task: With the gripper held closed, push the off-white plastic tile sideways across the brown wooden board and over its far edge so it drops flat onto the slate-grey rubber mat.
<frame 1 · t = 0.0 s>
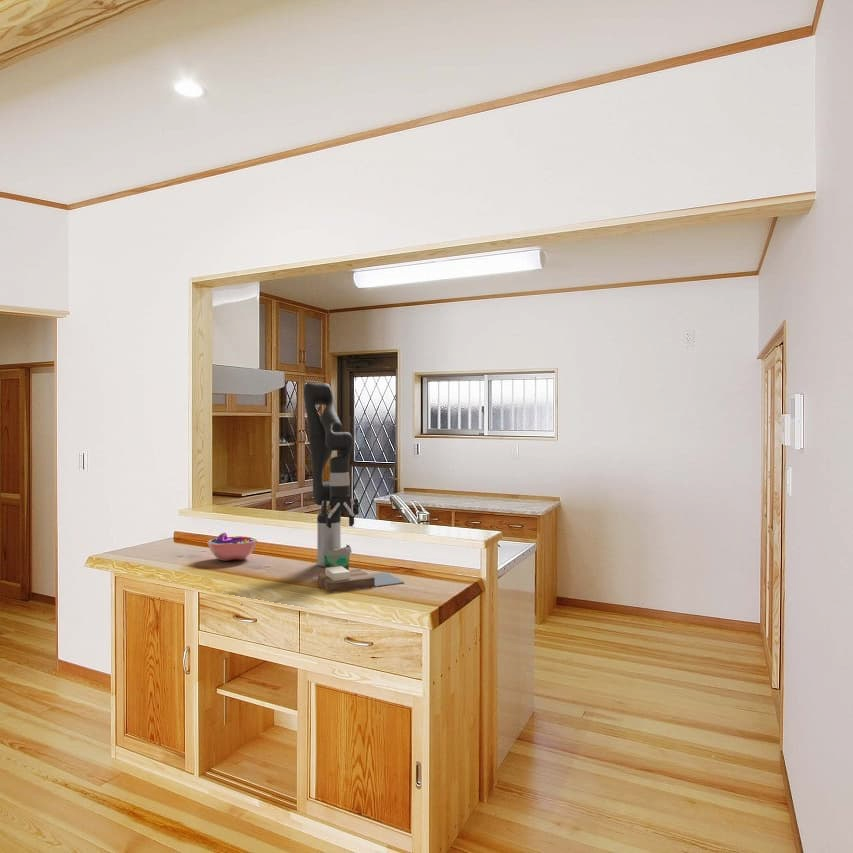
hand: (340, 527, 239), 17 cm above the table, tool pointing down, fingers open, 8 cm apart
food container: (340, 575, 235), on the table
cell model: (232, 560, 259), on the table
brown wooden board: (345, 584, 221), on the table
tile: (337, 573, 220), point 4 cm above the table, touching brown wooden board
mat: (381, 579, 227), on the table
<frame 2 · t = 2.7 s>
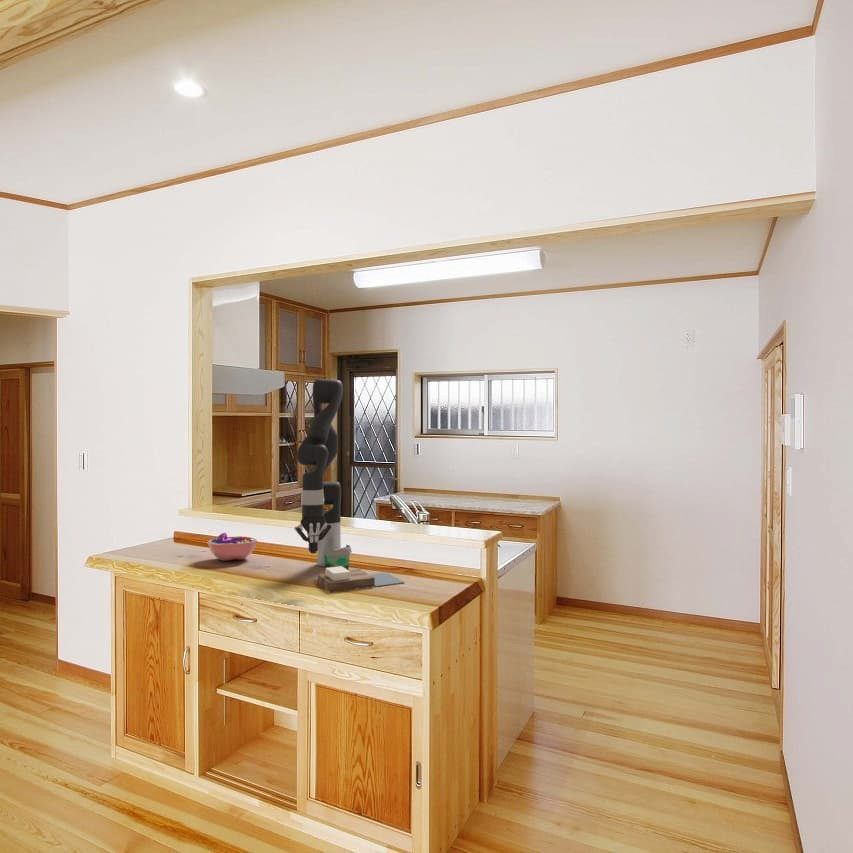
hand: (313, 553, 215), 12 cm above the table, tool pointing down, fingers closed
nothing on the table moved.
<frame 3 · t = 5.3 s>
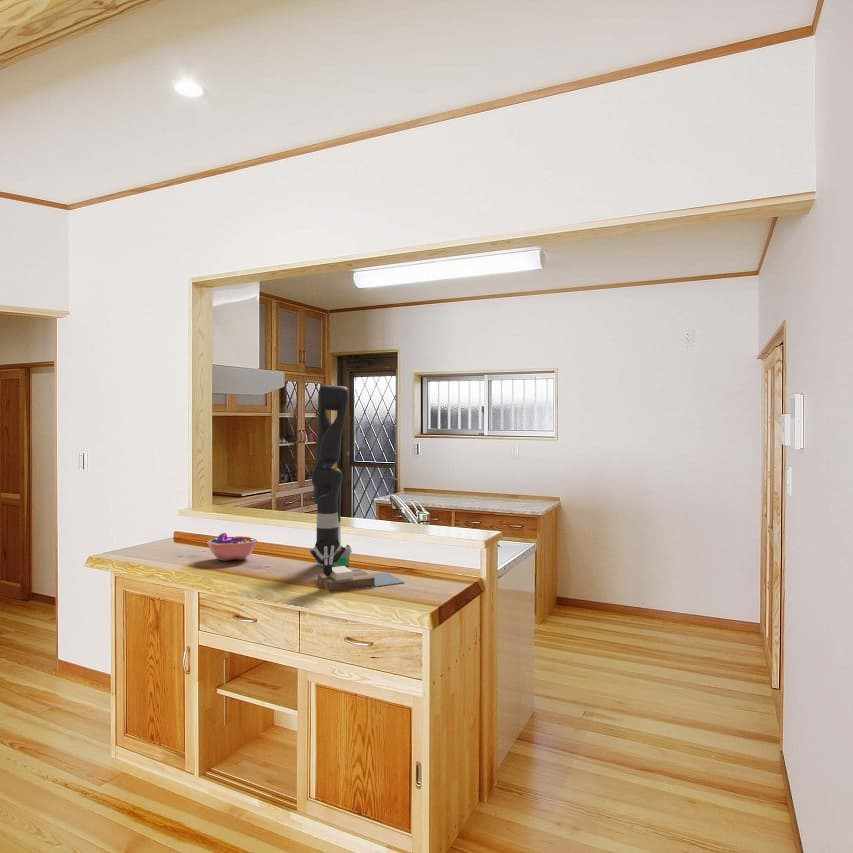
hand: (327, 575, 218), 4 cm above the table, tool pointing down, fingers closed
nothing on the table moved.
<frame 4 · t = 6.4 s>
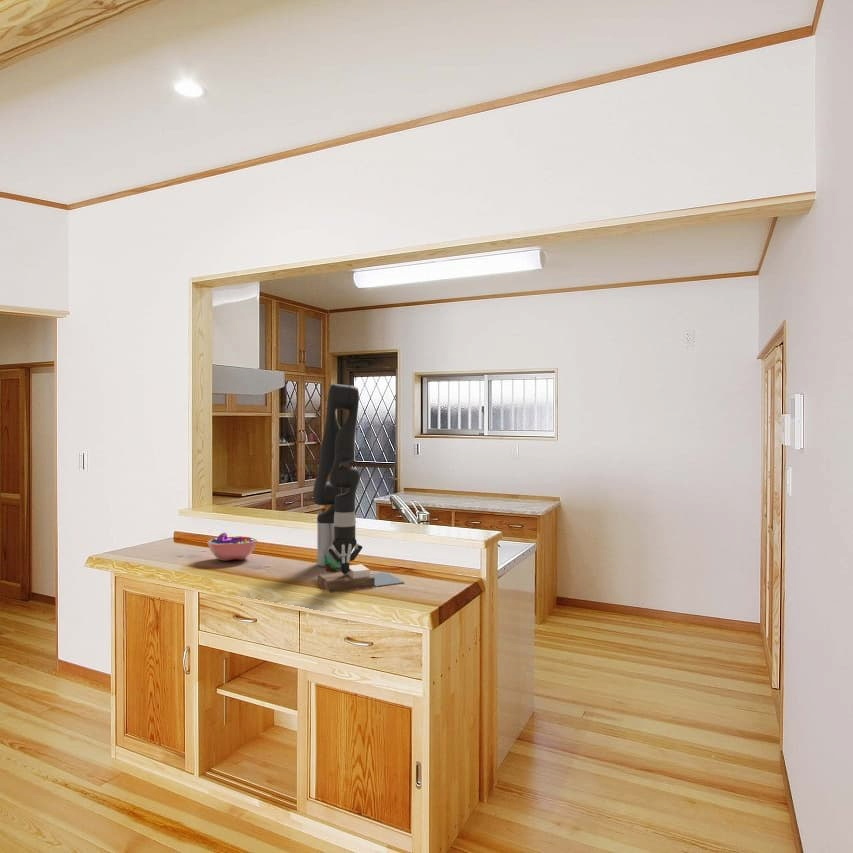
hand: (344, 573, 221), 4 cm above the table, tool pointing down, fingers closed
tile: (357, 571, 223), point 4 cm above the table, touching gripper
everything else where it was.
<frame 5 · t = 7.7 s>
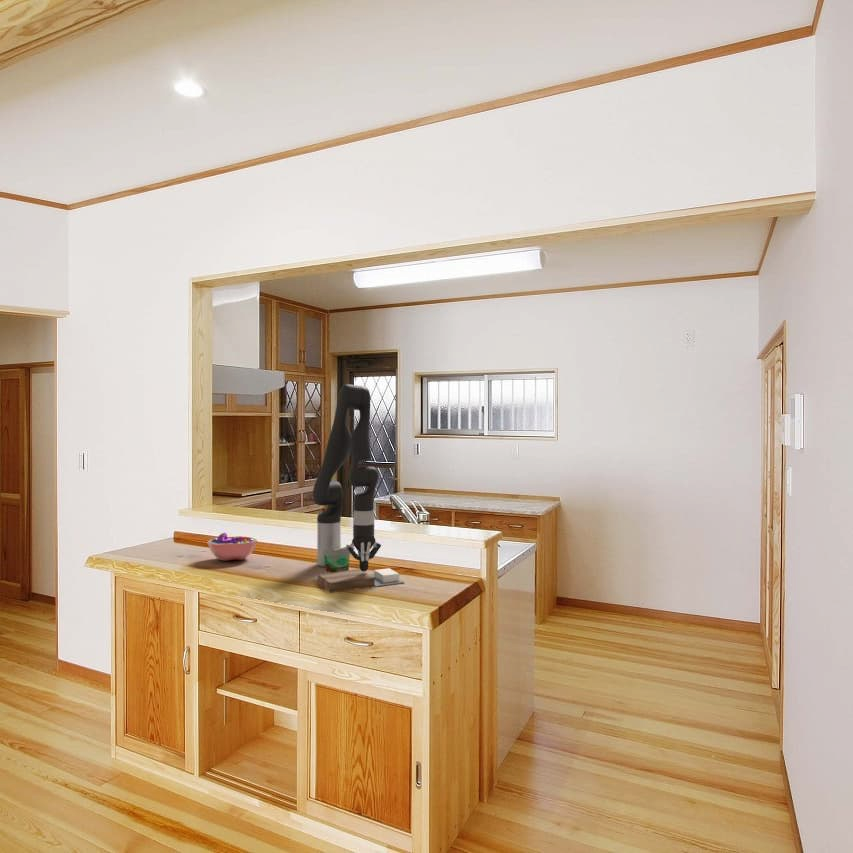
hand: (363, 570, 224), 4 cm above the table, tool pointing down, fingers closed
tile: (386, 575, 227), point 2 cm above the table, tilted 180°, touching mat
everything else where it was.
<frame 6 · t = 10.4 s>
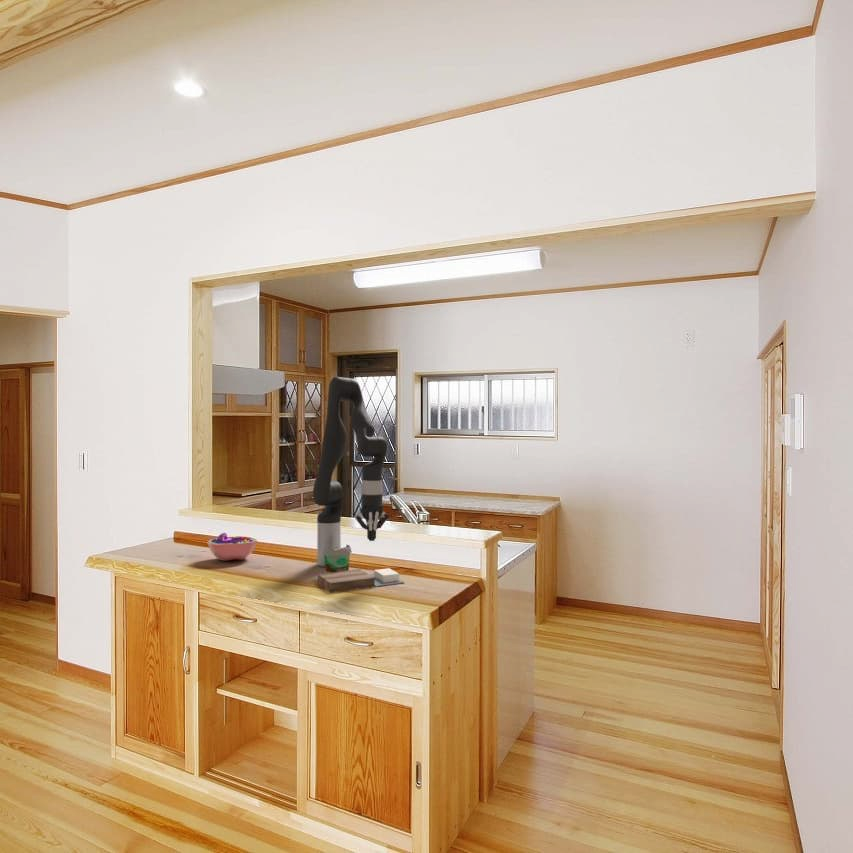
hand: (371, 540, 226), 15 cm above the table, tool pointing down, fingers closed
nothing on the table moved.
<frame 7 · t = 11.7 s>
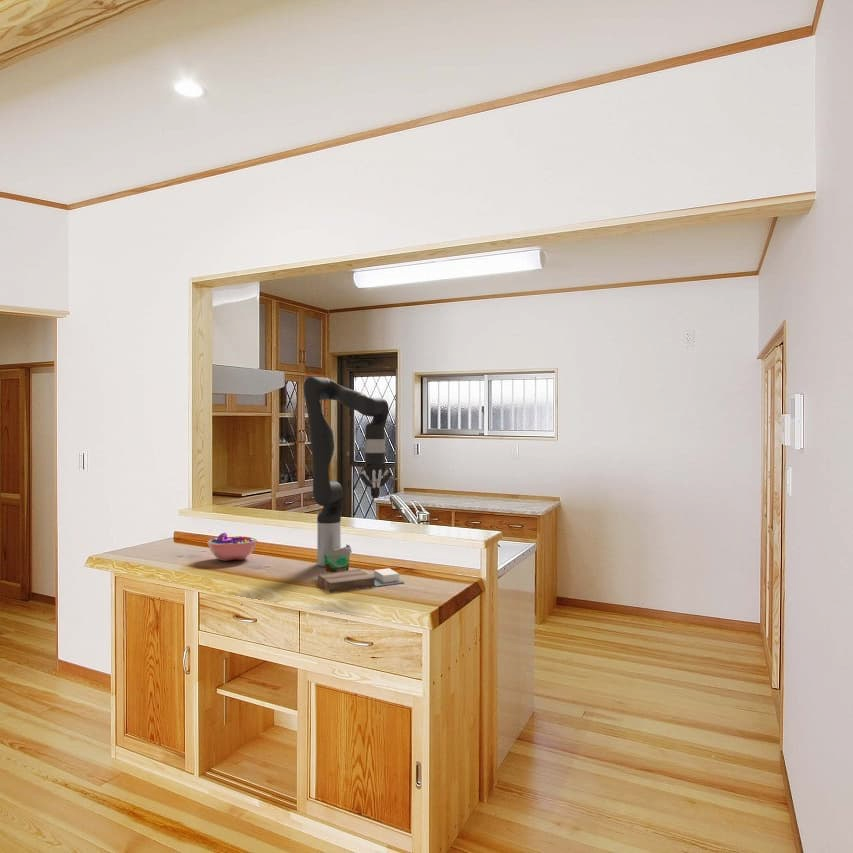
hand: (375, 497, 233), 29 cm above the table, tool pointing down, fingers closed
nothing on the table moved.
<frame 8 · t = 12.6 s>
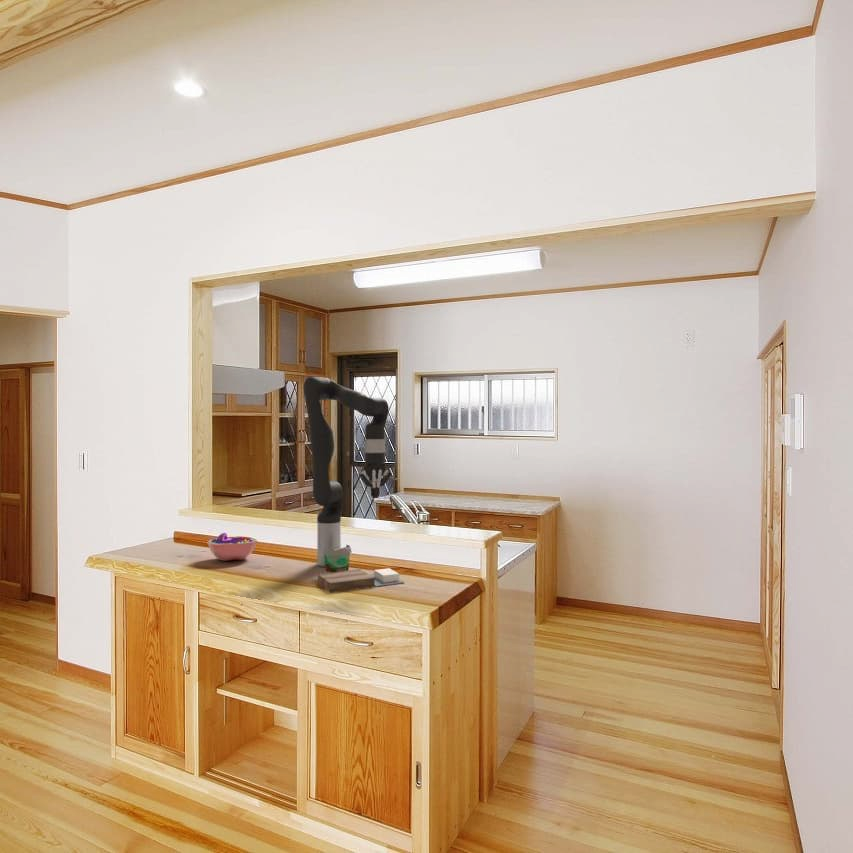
hand: (375, 497, 233), 29 cm above the table, tool pointing down, fingers closed
nothing on the table moved.
at the end: tile point 1.6 cm above the table; tile inside the target area on the mat (1.9 cm from its centre), point 1.6 cm above the mat's base; tile touching mat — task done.
